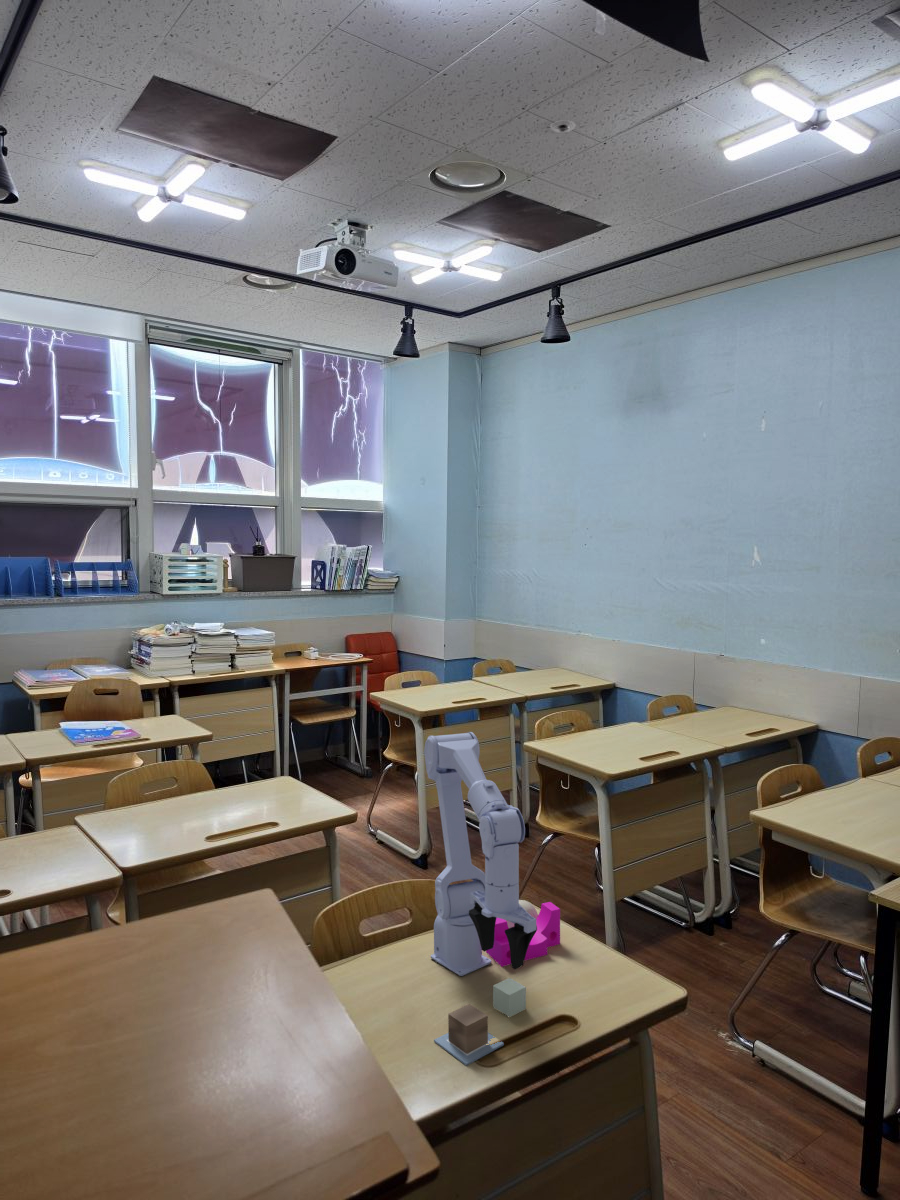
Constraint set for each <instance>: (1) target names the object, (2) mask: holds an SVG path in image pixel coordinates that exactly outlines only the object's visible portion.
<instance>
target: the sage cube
mask: <svg viewBox="0 0 900 1200" xmlns="http://www.w3.org/2000/svg"><path fill="white" fill-rule="evenodd" d="M492 994H493V995H492V1001H493V1003H492V1006H493V1007H494V1008H493V1009H495V1010H496V1009H497V1011H498V1010H499V1011H498V1012H500V1011H501V1012H502V1013H501V1012H500V1013H501V1014H503V1013H504V1014H506V1015H507V1016H506V1015H505V1016H506V1017H508V1016H509V1017H508V1018H511V1017H513V1016H515V1015H517V1014H518V1013H520V1012H522V1011H524V1009H525V1010H526V1007H527V1006H526V1005H527V987H526V986H525V985H523V984H521V983H520V982H518V981H516V980H514V979H513V978H511V977H508V978H506V979H504V980H502V981H500V982H498V983H496V984H494V985H492ZM504 1014H503V1015H504ZM514 1014H515V1015H514ZM512 1015H513V1016H512ZM510 1016H511V1017H510Z"/></svg>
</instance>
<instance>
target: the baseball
mask: <svg viewBox="0 0 900 1200" xmlns="http://www.w3.org/2000/svg"><path fill="white" fill-rule="evenodd" d="M519 904H520V905H521V906H522V907H523V908H524V909H525V910H526V911H527V912H528V913H529V914H530V915H531V916H532V917H534V918H537V917H538V915H539V913H538V912H537V910H536V906H534V905H533V904H532V903H531V902H530V901H528V900H525V899H519ZM506 921H507V924H508V928H511V927H514V923H512V922H510V921H508V920H506Z"/></svg>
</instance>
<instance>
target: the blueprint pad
mask: <svg viewBox="0 0 900 1200" xmlns="http://www.w3.org/2000/svg"><path fill="white" fill-rule="evenodd" d="M493 1036H494V1035H492V1034H491V1033H490V1032H488V1043H486V1044H489V1041H491V1040H490V1039H492V1038H496V1037H495V1036H494V1037H493ZM433 1042H434V1043H435V1044H436V1045H438V1046H439V1047H440V1048H442V1049H443V1050H444V1051H446V1052H448V1053H449V1054H450V1055H452V1056H453V1057H454V1058H456V1060H458V1061H459V1062H461V1063H462V1064H463V1065H464V1066H469V1065H470V1064H472V1063H474V1062H475V1061H477V1060H479V1059H481V1058H483V1057H485V1056H486V1055H488V1054H490V1053H492V1052H494V1051H495V1050H498V1049H500V1048H501V1047H503V1046H505V1043H504V1041H501V1042H497V1043H495V1044H492V1045H490V1044H489V1045H486V1044H484V1045H483V1046H481V1047H479V1048H477V1049H475V1050H473V1051H471V1052H470V1053H468V1054H466V1053H465V1052H463V1051H462V1050H461V1049H459V1048H458V1047H456V1046H455V1045H454V1044H452V1043H451V1042H450V1041H449V1033H448V1032H447V1033H445V1034H442V1035H441V1036H439V1037H436V1038H435V1039H433Z"/></svg>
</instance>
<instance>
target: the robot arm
mask: <svg viewBox="0 0 900 1200" xmlns="http://www.w3.org/2000/svg"><path fill="white" fill-rule="evenodd" d="M423 749H424V751H423V752H424V753H423V754H424V760H425V761H424V762H425V768H426V769H425V770H426V774H427V778H428V779H429V780H432V781H434V782H435V787H436V791H437V797H438V799H437V800H438V806H439V813H440V821H441V829H442V837H443V845H444V853H445V859H446V860H445V861H446V866H445V868H444V869H443V870H442V872H441V873H440V874H439V875H438V876H437V877H436V879H435V880H434V881H435V882H434V886H435V887H434V889H435V893H434V903H435V904H434V905H435V909H436V913H437V915H436V918H435V920H434V923H433V954H431V955H430V958H431V960H433V961H435V962H437V963H438V964H440V965H442V966H443V967H445V968H447V969H449V970H450V971H451V972H453V973H455V974H456V975H458V976H460V977H464V976H466V975H468V974H471V973H472V972H474V971H477V970H479V969H480V968H483V967H485V966H489V965H490V964H492V959H490V958H488V957H487V956H485V955H483V952H485V953H486V951H487V950H489V949H492V948H493V945H494V932H495V923H496V918H501V919H504V920H508V921H510V922H512V923H514V927H511V928H509V929H506V930H505V934H506V936H507V939H508V942H509V947H510V957H511V964H510V966H511V968H512V969H513V970H517V969H518V968H521V967H524V965H525V964H524V963H525V961H526V960H525V956H526V952H527V949H528V946H529V944H530V942H531V940H532V938H533V936H534V934H535V933H536V931H537V926H536V918H534V917H532V916H531V915H530V914H529V913H528V912H527V911H526V910H525V909H524V908H523V907H522V906H521V905H520V904H519V900H520V895H519V894H520V885H519V884H520V883H519V882H520V874H519V873H520V871H519V868H520V865H519V863H520V858H519V857H520V853H519V851H520V850H519V846H520V844H519V843H522V842H524V840H525V836H526V827H525V821H524V817H523V814H522V813H521V810H520V809H519V808H518V807H514V806H513V805H512V804H511V805H509V804H508V803H507V801H506V799H505V797H504V796H503V794H502V792H501V790H500V789H499V787H498V786H497V784H496V782H494V781H493V780H491V779H487V778H486V775H485V773H484V770H483V769H482V766H481V763H480V761H479V760H480V753H481V751H480V742H479V739H478V737H477V735H475V733H474V732H472V731H468V732H464V733H454V734H442V735H428V736H427V739H426V741H425V743H424V748H423ZM462 781H463V784H465V785H466V787H467V789H468V792H467V800H468V802H469V804H470V806H471V808H472V809H473V812H474V814H475V815H476V818H477V819H478V821H479V824H478V827H479V834H480V835H479V836H480V838H481V850H482V854H483V855H484V864H485V865H484V866H485V867H484V871H483V870H482V869H480V868H478V867H477V866H475V865H474V864H473V863H472V857H471V847H470V842H469V834H468V828H467V827H468V826H467V820H466V819H467V818H466V813H465V812H466V811H465V806H464V805H465V804H464V799H463V790H462ZM466 880H467V881H466ZM468 880H471V881H468ZM461 881H465V882H461ZM454 882H460V883H454ZM451 883H453V884H451ZM524 960H525V961H524Z"/></svg>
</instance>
